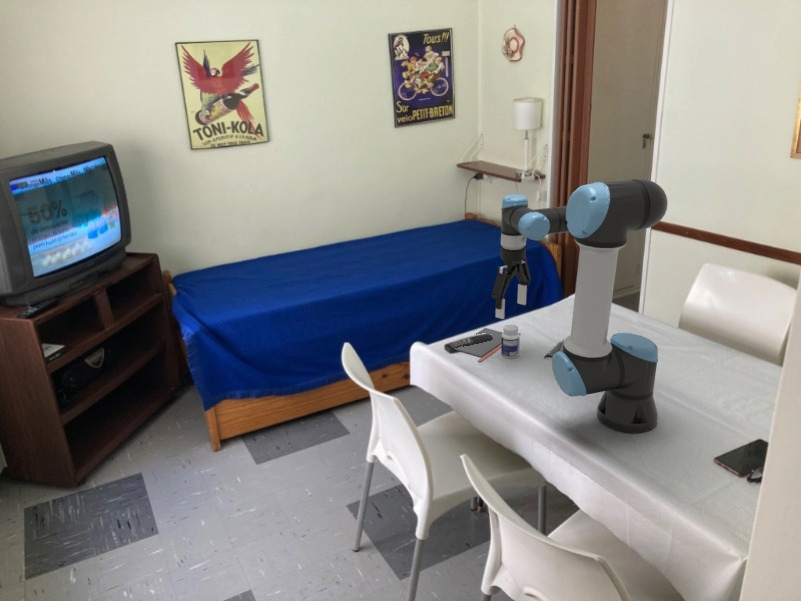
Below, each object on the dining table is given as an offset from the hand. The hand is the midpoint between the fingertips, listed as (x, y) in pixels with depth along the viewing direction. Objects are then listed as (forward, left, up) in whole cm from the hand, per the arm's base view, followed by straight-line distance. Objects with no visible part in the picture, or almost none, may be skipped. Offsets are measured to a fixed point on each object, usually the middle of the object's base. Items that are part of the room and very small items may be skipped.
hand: (510, 310), depth 203 cm
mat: (+3, +12, -16) cm, 20 cm away
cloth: (+16, -15, -16) cm, 28 cm away
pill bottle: (0, 0, -16) cm, 16 cm away
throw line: (+3, +5, -16) cm, 17 cm away
